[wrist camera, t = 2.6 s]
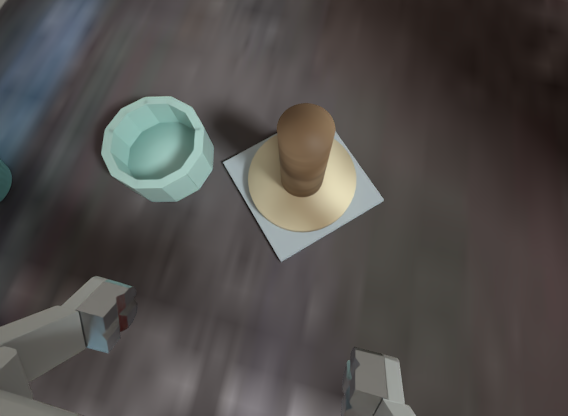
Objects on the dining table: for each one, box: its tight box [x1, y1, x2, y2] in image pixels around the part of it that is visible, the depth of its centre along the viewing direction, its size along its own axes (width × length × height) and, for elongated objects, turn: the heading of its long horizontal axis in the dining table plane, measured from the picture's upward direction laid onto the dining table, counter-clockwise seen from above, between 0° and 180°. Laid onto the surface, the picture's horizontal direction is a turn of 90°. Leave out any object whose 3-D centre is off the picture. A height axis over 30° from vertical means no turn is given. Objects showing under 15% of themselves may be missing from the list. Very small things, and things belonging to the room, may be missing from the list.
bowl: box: [101, 96, 214, 202], centre depth 28 cm, size 8×8×4 cm
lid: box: [248, 103, 356, 232], centre depth 24 cm, size 9×9×9 cm
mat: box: [223, 132, 384, 262], centre depth 29 cm, size 10×10×1 cm
